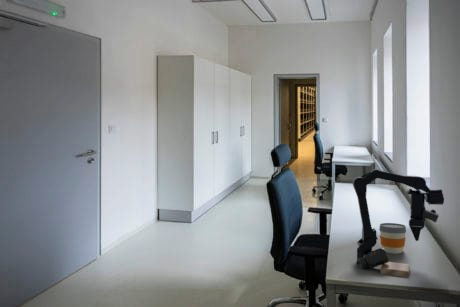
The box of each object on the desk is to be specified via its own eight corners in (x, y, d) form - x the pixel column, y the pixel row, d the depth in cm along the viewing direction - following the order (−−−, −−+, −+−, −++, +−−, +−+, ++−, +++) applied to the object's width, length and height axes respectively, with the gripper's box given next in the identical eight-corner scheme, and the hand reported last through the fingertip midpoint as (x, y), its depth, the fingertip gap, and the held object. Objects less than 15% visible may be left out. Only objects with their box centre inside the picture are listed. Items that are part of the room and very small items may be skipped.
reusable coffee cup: (410, 258, 200) (410, 227, 199) (384, 258, 200) (384, 227, 199) (400, 251, 212) (400, 222, 212) (375, 251, 212) (375, 222, 212)
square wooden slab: (380, 274, 177) (380, 267, 177) (383, 267, 187) (383, 261, 187) (408, 278, 172) (408, 271, 172) (409, 271, 182) (409, 264, 182)
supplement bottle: (383, 251, 187) (357, 260, 188) (382, 244, 182) (356, 253, 183) (389, 264, 182) (363, 273, 183) (389, 258, 177) (362, 267, 178)
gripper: (437, 208, 173) (437, 245, 173) (437, 202, 189) (437, 236, 190) (408, 206, 178) (408, 242, 178) (411, 201, 194) (411, 233, 195)
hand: (417, 238), depth 185 cm, fingers open, 9 cm apart
